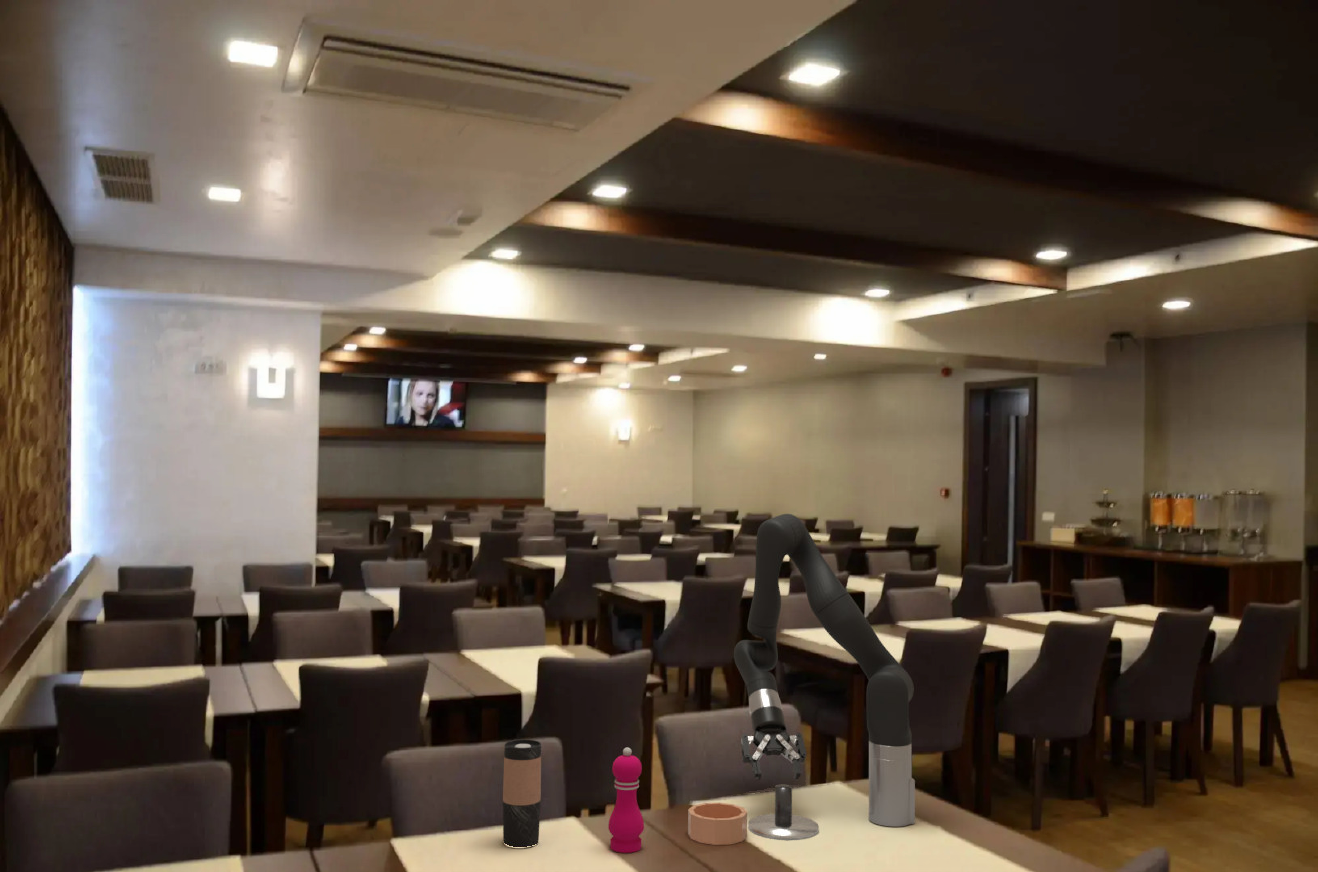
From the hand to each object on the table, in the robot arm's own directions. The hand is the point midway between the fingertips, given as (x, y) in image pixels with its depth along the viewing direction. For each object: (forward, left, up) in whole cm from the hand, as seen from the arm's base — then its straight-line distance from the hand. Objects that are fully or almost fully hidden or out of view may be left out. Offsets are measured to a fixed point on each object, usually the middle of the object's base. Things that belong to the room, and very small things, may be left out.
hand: (778, 777), depth 232 cm
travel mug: (+56, +8, -10) cm, 57 cm away
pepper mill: (+35, +13, -10) cm, 39 cm away
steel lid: (0, +4, -10) cm, 11 cm away
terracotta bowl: (+15, +7, -10) cm, 19 cm away
